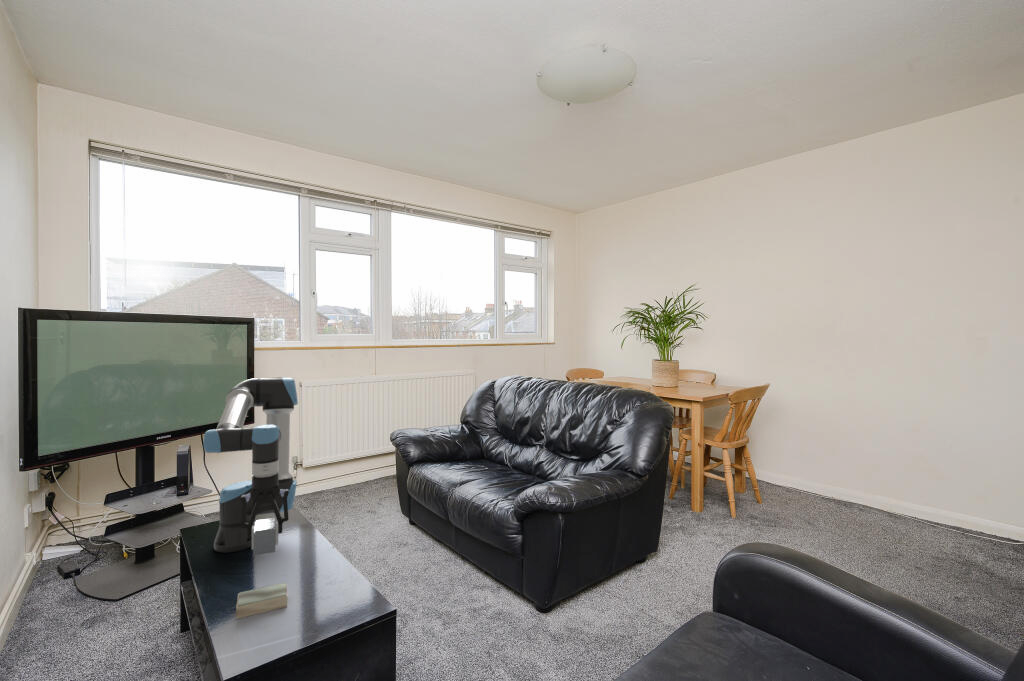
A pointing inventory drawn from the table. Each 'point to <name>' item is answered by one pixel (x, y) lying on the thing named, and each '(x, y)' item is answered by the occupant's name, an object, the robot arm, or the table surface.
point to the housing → (265, 536)
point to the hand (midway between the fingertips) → (265, 545)
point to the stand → (261, 600)
